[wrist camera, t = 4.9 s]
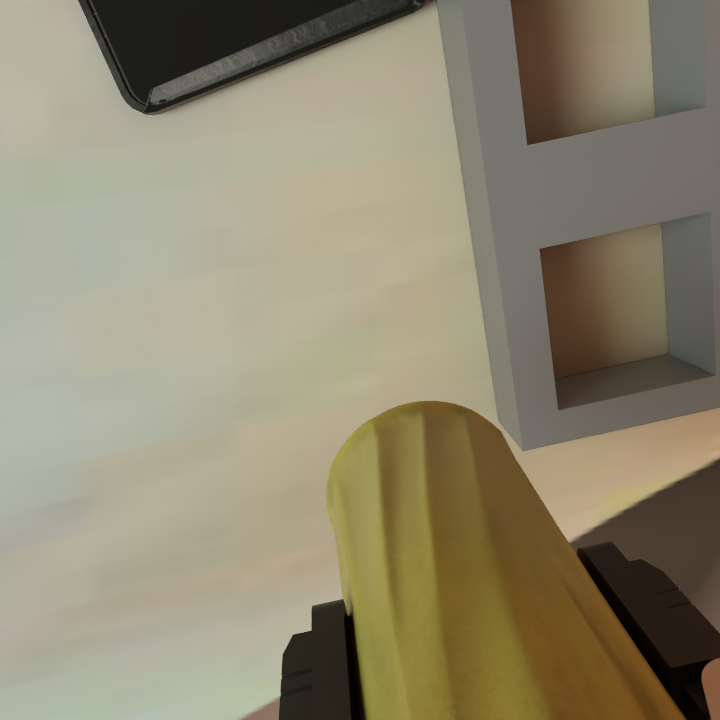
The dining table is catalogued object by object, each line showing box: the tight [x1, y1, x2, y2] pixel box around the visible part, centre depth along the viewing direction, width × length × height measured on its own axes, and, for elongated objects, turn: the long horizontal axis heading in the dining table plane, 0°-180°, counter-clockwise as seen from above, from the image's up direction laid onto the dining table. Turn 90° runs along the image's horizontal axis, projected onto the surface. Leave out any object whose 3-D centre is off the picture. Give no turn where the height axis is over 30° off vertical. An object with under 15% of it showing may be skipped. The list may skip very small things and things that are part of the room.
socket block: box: [436, 0, 720, 451], centre depth 28 cm, size 24×15×5 cm, turn 12°
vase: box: [327, 401, 687, 720], centre depth 12 cm, size 6×6×14 cm
